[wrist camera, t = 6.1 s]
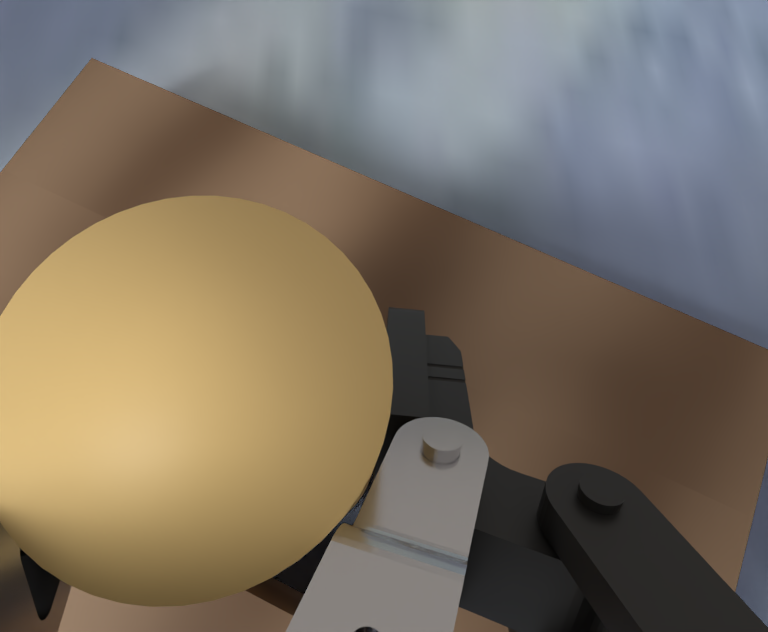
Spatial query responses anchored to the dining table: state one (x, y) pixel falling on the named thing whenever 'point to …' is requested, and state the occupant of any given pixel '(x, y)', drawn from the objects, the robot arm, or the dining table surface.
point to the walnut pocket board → (442, 318)
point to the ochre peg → (188, 400)
